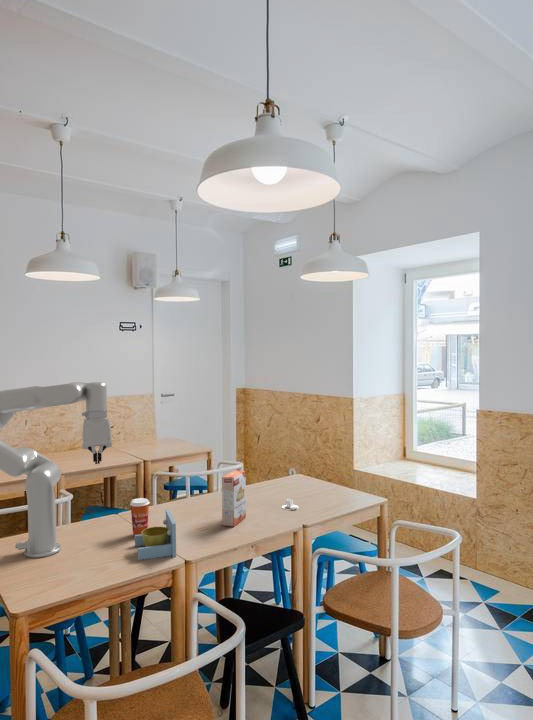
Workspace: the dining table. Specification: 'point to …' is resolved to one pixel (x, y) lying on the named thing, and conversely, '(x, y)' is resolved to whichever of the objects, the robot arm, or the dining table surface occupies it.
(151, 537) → the flower pot
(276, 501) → the dining table surface
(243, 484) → the cracker box
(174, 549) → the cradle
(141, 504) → the paper cup
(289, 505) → the white lobed knob
